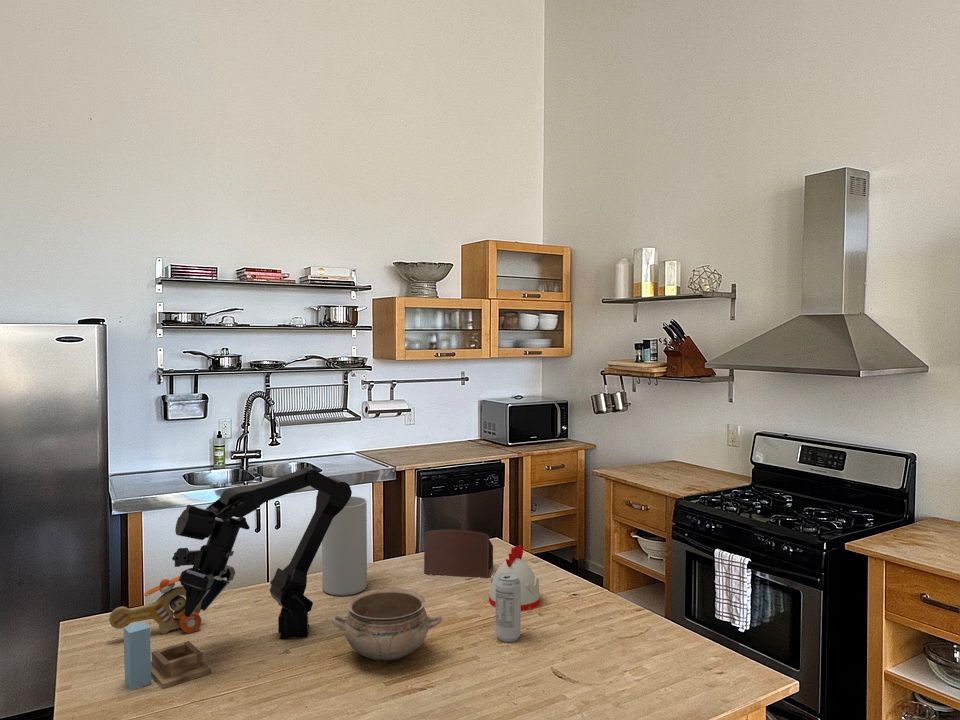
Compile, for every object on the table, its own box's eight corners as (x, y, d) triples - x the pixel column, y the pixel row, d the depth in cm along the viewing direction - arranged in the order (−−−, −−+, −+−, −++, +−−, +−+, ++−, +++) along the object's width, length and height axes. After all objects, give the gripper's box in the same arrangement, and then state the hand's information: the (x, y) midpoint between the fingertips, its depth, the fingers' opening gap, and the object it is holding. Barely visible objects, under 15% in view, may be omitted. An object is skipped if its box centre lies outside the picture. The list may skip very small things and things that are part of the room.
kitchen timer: (548, 598, 197) (549, 544, 196) (524, 615, 185) (524, 558, 184) (505, 588, 204) (505, 536, 203) (479, 604, 193) (479, 549, 192)
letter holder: (488, 578, 212) (489, 532, 211) (423, 575, 215) (423, 528, 214) (493, 567, 222) (493, 522, 221) (430, 564, 225) (430, 519, 224)
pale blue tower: (145, 676, 153) (143, 621, 152) (151, 683, 150) (149, 627, 149) (124, 682, 150) (123, 627, 149) (130, 690, 147) (129, 633, 147)
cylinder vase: (362, 596, 197) (362, 507, 196) (317, 596, 197) (316, 507, 196) (370, 580, 210) (369, 496, 208) (328, 580, 210) (327, 496, 209)
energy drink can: (525, 637, 172) (525, 576, 171) (509, 645, 168) (509, 582, 167) (506, 629, 176) (507, 570, 175) (490, 637, 172) (490, 576, 171)
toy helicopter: (206, 629, 176) (205, 575, 175) (112, 650, 165) (110, 592, 164) (199, 618, 183) (197, 565, 182) (108, 637, 172) (106, 581, 171)
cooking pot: (444, 637, 172) (443, 587, 172) (439, 675, 153) (439, 620, 153) (340, 637, 172) (339, 587, 172) (323, 675, 153) (322, 620, 153)
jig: (190, 653, 163) (189, 636, 163) (211, 672, 154) (210, 654, 154) (144, 668, 156) (143, 650, 156) (163, 688, 148) (162, 670, 147)
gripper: (202, 531, 171) (178, 596, 169) (170, 535, 153) (142, 608, 150) (245, 545, 171) (222, 610, 168) (218, 551, 153) (191, 624, 150)
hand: (195, 613), depth 159 cm, fingers open, 9 cm apart
